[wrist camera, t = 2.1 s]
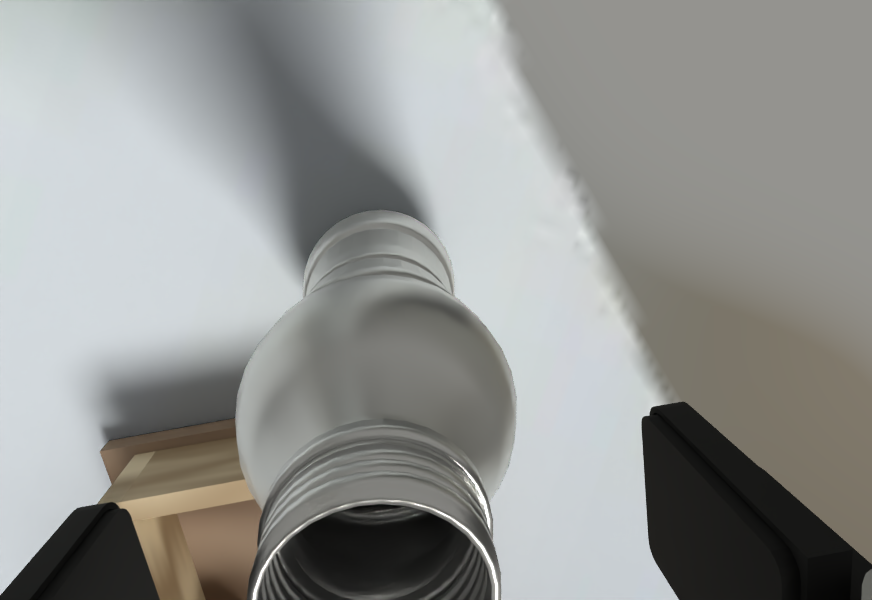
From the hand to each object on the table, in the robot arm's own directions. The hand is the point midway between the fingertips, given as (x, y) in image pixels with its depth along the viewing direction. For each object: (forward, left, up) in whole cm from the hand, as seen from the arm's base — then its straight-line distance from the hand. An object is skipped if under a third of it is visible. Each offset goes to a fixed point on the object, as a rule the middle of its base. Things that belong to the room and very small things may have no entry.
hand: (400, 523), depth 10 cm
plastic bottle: (0, 0, -18) cm, 18 cm away
